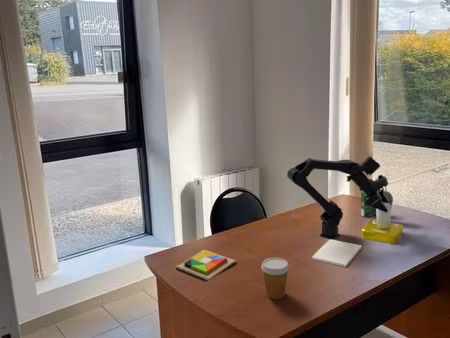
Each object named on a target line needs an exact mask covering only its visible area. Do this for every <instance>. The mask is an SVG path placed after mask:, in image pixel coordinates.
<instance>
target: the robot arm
mask: <svg viewBox="0 0 450 338" xmlns="http://www.w3.org/2000/svg"><path fill="white" fill-rule="evenodd" d="M380 168H381V165H380V163H379V162H377V161H376V160H375V159H374V158H373V157H372V156H367V157H366V159H365V160H364V161H363V162H362V163H361V164H360V163H359V162H355V161H353V160H351V159H340V160H325V159H315V158H307V159H306V160H304V161H303V162H300V163H299V164H296V166H294V167H292V168H289V170H288V171H287V173H286V174H287V175H286V176H287V178H288V180H289V181H291V182H292V183H293V184H295V185H297V187H299V188H301V189H303V191H305V192H306V194H307V195H308V196H310V197H311V198H312V199H313V200H314V202H315V203H317V204H318V205H319V206H320V207H321V209H322V211H323V212H322V213H321V215H320V217H319V218H320V220H321V221H322V222H321V233H320V234H319V236H320V237H323V238H327V239H329V240H330V239H331V240H334V239H335V238H336V237H338V236H340V233H339V225H340V222H341V220H342V219H343V216H344V213H343V209H342V208H341V207H340V206H338V204H337V203H336V202H334V201H333V200H329V201H328V200H327V199H326V197H324V196H323V195H322V194H321V193H320V192H319V191H318V190H317V189H316V188H315V187H314V186H313V185H312V184H311V183H310V181H309V180H308V178H307V177H309V176H310V175H311V173H312V171H313V170H325V171H335V172H336V171H337V172H340V173H343V174H347V175H346V182H347V183H349V182H350V181H352V182H353V184H355V185H356V186H357V187H358V188H359V189H358V190H359V191H360V192H364V193H365V194H366V197H367V199H366V204H367V205H368V206H370V207H374V208H376V209H379V210H381V211H384V212H386V213H387V212H388V210H387V208H386V207H385V205H384V204H383V203H389V202H388V200H387V198H386V197H385V195H384V191H385V186H386V187H387V186H388V185H389V181H388V178H387V177H386V176H385V175H383V174H379V175H378V176H377V178H376V179H375V180H373V179H372V178H369V177H368V176H372V175H373V174H374V173H376V171H378V169H380ZM389 204H390V203H389Z"/></svg>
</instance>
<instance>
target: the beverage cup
mask: <svg viewBox="0 0 450 338" xmlns="http://www.w3.org/2000/svg"><path fill="white" fill-rule="evenodd" d="M384 195H385V197H386V198H387V200H388V202H389V203H390V206H391V207H392V206H393V202H394V198H393V197H394V196H393V195H392V193H391V192H390V191H387V186H385V187H384Z"/></svg>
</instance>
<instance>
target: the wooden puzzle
mask: <svg viewBox="0 0 450 338" xmlns="http://www.w3.org/2000/svg"><path fill="white" fill-rule="evenodd" d="M235 263H237V260H236V259H234V258H233V259H232V258H229V257H227V256H223V255H220V254H217V253H215V252H212V251H210V250H207V249H202V250H201V251H199V252H198V253H196V254H194V255H193V256H191V257H189V258H188V259H186V260H185V261H184V262H182V263H180V264H179V265H178V264H176V265H175V268H176V269H179V270H180V271H184V272H186V273H189V274H192V275H193V276H196V277H198V278H201V279H204V280H205V281H209V280H211V279H212V278H214V277H215V276H217V275H218V274H220V273H221V272H223V271H224V270H225V269H227V268H228V267H230V266H231V265H233V264H235ZM176 266H177V267H176ZM178 267H179V268H178ZM191 267H192V268H191ZM193 268H194V269H193ZM183 269H184V270H183ZM198 270H199V271H198ZM188 271H189V272H188Z"/></svg>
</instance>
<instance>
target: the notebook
mask: <svg viewBox="0 0 450 338" xmlns="http://www.w3.org/2000/svg"><path fill="white" fill-rule="evenodd" d="M361 249H362V245H360V244H357V243H350V242H346V241H341V240H335V239H329V240H327V241H326V242H325V243H324V245H322V246H321V247H320V248H319V249H318V250H317V251H316V252H315V253H314V255H312V256H311V259H312V260H314V261H317V262H321V263H322V262H323V263H326V264H332V265H336V266H340V267H345V268H346V267H348V265H349V263H350V262H351V261H352V260H353V259H354V258H355V256H356V255H357V254H358V253H359V251H360V250H361Z"/></svg>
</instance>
